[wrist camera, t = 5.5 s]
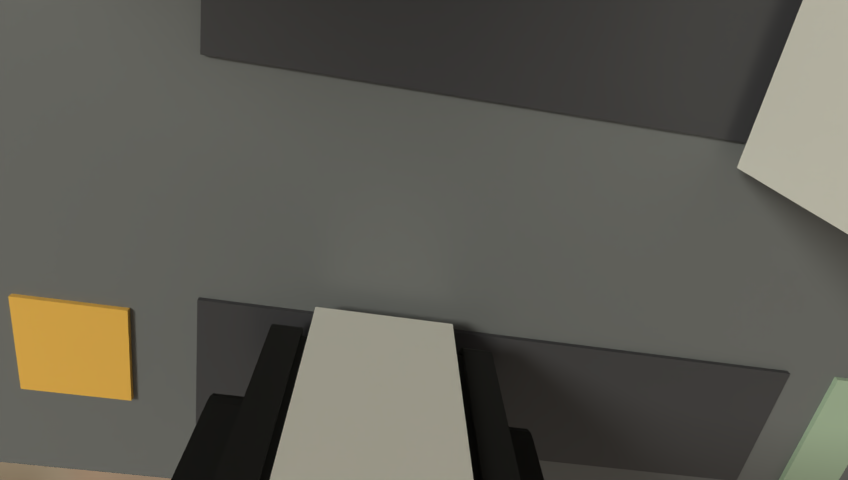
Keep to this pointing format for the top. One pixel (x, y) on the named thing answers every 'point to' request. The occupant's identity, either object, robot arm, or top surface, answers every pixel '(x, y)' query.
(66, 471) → the top surface
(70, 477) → the top surface
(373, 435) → the block
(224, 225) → the breaker panel
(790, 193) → the block
